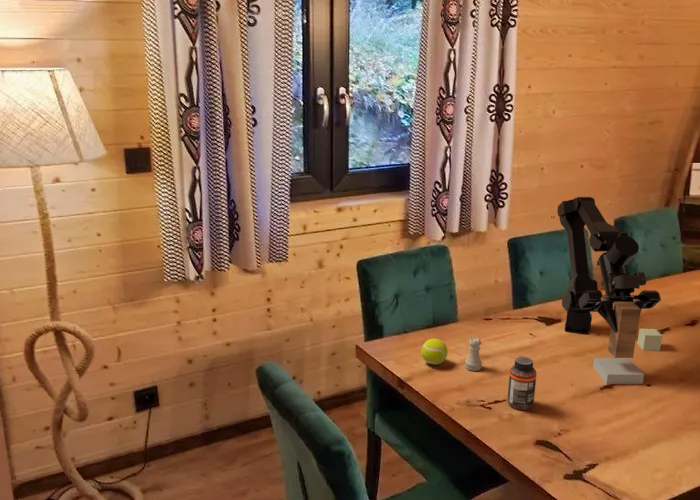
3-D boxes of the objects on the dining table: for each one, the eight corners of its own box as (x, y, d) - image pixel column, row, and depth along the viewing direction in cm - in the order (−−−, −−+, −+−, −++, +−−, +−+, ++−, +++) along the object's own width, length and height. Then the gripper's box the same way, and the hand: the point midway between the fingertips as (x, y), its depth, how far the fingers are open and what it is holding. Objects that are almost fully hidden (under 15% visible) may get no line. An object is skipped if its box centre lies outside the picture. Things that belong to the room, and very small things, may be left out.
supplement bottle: (512, 395, 161) (516, 351, 158) (537, 402, 158) (541, 358, 155) (502, 405, 156) (506, 361, 153) (527, 413, 153) (532, 368, 150)
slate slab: (592, 368, 176) (594, 358, 175) (627, 368, 176) (628, 358, 175) (606, 385, 167) (607, 374, 166) (642, 385, 168) (644, 374, 167)
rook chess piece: (481, 372, 172) (484, 343, 170) (463, 370, 173) (465, 341, 171) (482, 364, 176) (484, 336, 174) (464, 362, 177) (466, 334, 175)
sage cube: (642, 350, 186) (645, 335, 185) (637, 343, 190) (639, 328, 189) (659, 350, 186) (662, 335, 184) (653, 343, 190) (656, 329, 189)
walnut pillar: (607, 349, 172) (614, 301, 168) (625, 349, 172) (632, 301, 168) (615, 357, 168) (622, 308, 164) (632, 357, 168) (640, 308, 164)
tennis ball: (424, 370, 173) (425, 345, 171) (418, 358, 179) (419, 334, 177) (449, 368, 174) (451, 344, 172) (442, 357, 180) (444, 333, 178)
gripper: (588, 259, 166) (600, 319, 159) (663, 260, 167) (678, 319, 160) (573, 279, 176) (584, 336, 169) (644, 279, 177) (657, 336, 170)
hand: (626, 331), depth 167 cm, fingers closed on walnut pillar, 4 cm apart
